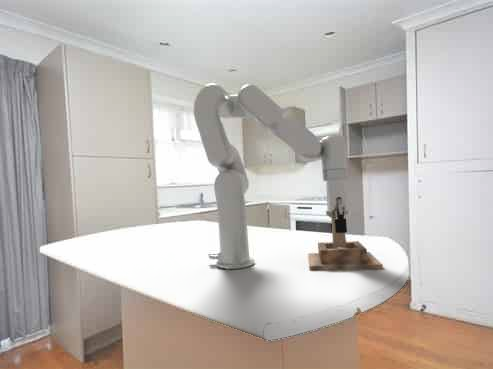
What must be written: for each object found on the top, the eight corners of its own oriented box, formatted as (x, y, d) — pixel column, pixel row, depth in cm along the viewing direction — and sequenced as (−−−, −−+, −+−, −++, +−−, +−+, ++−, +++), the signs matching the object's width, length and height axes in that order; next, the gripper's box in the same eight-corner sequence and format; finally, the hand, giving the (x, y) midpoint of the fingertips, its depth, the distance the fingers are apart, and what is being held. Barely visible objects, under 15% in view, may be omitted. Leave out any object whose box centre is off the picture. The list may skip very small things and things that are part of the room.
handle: (349, 261, 86) (345, 211, 86) (328, 259, 90) (324, 211, 90) (353, 257, 90) (349, 209, 90) (332, 255, 94) (328, 209, 94)
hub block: (309, 270, 84) (308, 251, 84) (308, 256, 100) (307, 241, 100) (382, 269, 80) (381, 249, 80) (369, 255, 96) (368, 238, 96)
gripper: (320, 177, 100) (324, 227, 99) (325, 175, 83) (329, 235, 82) (343, 175, 98) (347, 226, 98) (352, 173, 81) (357, 234, 81)
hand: (339, 230), depth 90 cm, fingers open, 9 cm apart
